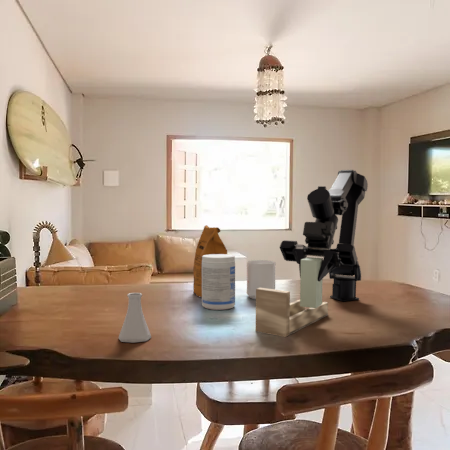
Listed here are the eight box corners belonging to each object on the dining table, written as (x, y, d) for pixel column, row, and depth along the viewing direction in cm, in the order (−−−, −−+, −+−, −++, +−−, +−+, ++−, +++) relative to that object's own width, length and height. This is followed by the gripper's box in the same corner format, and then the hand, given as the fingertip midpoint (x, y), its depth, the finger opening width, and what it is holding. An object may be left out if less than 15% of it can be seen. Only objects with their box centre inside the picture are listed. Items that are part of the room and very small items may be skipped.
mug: (277, 300, 143) (278, 263, 143) (248, 300, 143) (249, 264, 142) (270, 292, 155) (270, 258, 155) (243, 292, 155) (244, 258, 154)
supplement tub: (238, 310, 131) (239, 257, 130) (205, 311, 128) (205, 258, 128) (230, 302, 140) (230, 253, 139) (199, 303, 138) (199, 253, 137)
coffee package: (218, 290, 158) (218, 224, 157) (230, 297, 146) (231, 227, 145) (189, 291, 155) (189, 225, 153) (199, 299, 143) (199, 227, 142)
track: (301, 311, 130) (301, 275, 129) (327, 315, 125) (328, 278, 125) (255, 331, 110) (255, 288, 110) (285, 337, 106) (285, 293, 105)
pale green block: (306, 302, 119) (307, 257, 118) (322, 304, 117) (322, 258, 117) (300, 306, 115) (300, 259, 114) (315, 308, 113) (316, 260, 112)
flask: (120, 334, 107) (120, 290, 107) (152, 333, 108) (152, 290, 107) (115, 344, 100) (115, 297, 99) (150, 343, 101) (150, 297, 100)
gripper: (282, 209, 122) (265, 256, 114) (355, 210, 114) (342, 262, 105) (292, 237, 130) (277, 283, 121) (361, 240, 121) (350, 290, 112)
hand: (309, 279), depth 115 cm, fingers closed on pale green block, 4 cm apart
